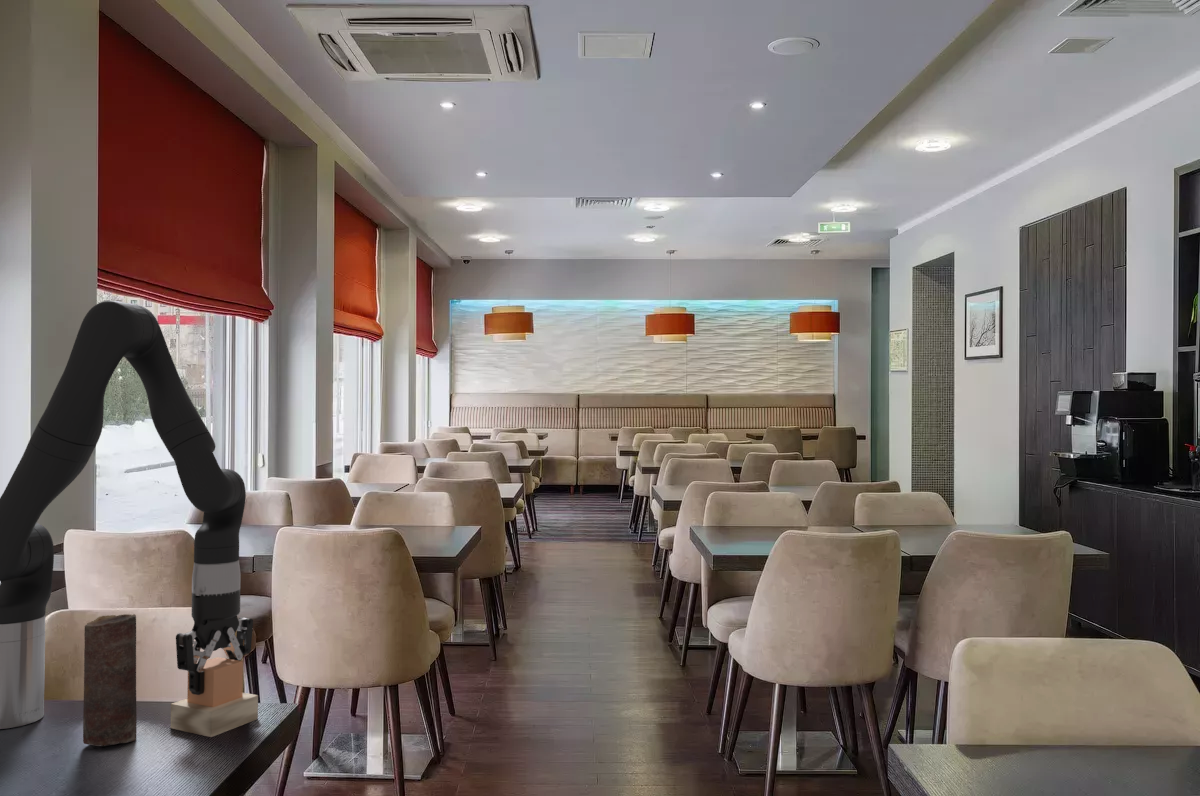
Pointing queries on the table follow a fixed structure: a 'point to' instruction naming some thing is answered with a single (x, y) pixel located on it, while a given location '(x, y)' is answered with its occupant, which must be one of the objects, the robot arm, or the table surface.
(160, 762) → the table surface
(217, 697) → the terracotta cube
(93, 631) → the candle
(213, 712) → the oak plinth
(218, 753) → the table surface
